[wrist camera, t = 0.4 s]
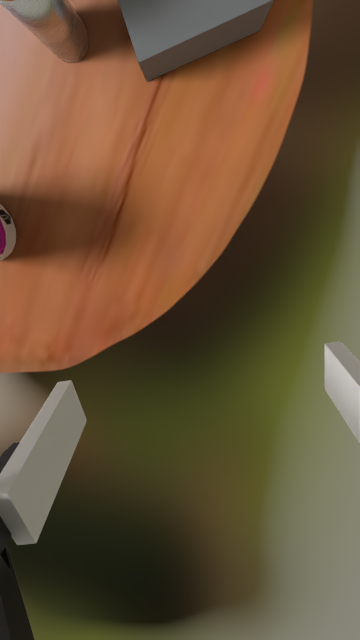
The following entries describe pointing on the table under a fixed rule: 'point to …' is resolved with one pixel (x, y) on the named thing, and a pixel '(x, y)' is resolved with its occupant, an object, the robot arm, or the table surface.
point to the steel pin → (53, 26)
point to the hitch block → (187, 29)
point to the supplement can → (6, 233)
